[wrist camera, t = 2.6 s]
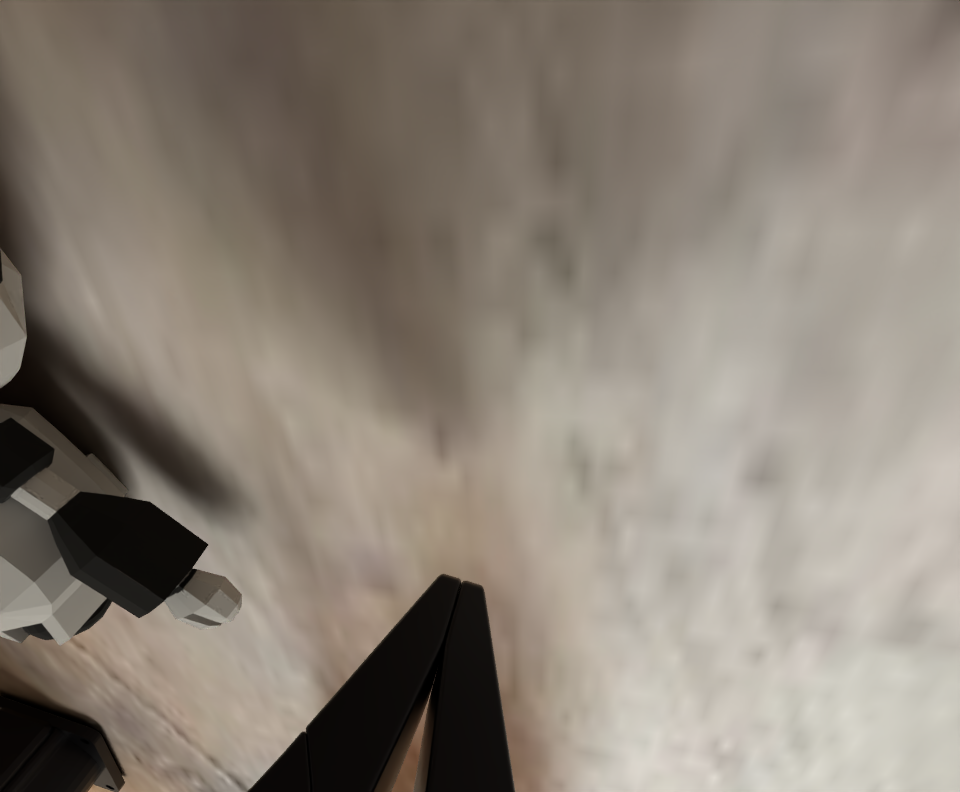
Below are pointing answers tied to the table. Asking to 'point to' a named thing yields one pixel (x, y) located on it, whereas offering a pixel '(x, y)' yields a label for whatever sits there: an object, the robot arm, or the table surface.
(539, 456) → the table surface
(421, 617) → the robot arm
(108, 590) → the robot toy
